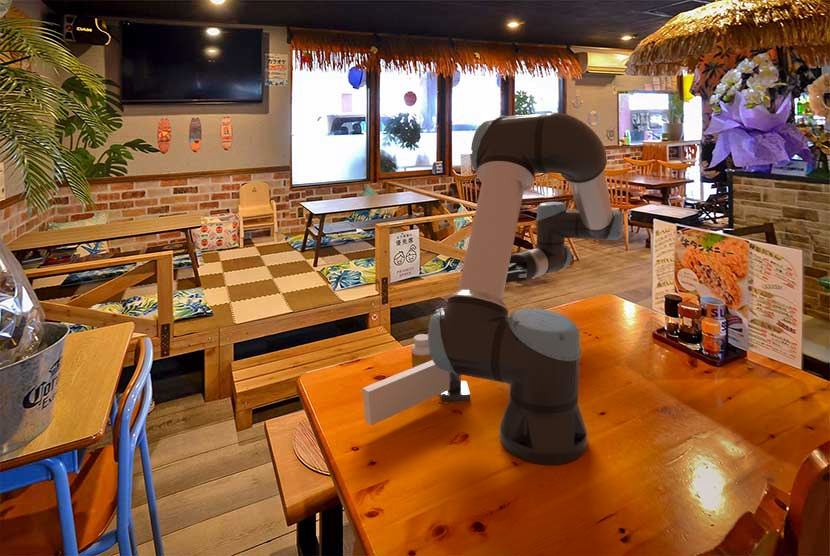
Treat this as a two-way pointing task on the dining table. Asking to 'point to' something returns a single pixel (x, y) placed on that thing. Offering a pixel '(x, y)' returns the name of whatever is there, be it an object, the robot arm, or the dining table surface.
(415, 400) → the swing arm
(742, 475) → the dining table surface
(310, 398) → the dining table surface
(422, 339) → the supplement bottle
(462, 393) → the post
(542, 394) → the robot arm
